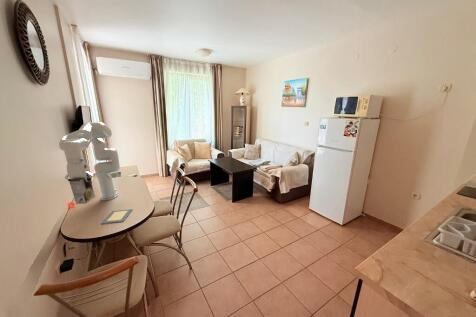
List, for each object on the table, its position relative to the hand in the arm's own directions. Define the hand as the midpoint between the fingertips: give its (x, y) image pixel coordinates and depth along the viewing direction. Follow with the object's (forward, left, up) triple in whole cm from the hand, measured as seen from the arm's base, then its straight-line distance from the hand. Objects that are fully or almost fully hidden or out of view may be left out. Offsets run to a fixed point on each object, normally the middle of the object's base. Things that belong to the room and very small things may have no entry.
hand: (82, 187), depth 121 cm
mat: (-6, +14, -26) cm, 30 cm away
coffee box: (0, 0, -9) cm, 9 cm away
